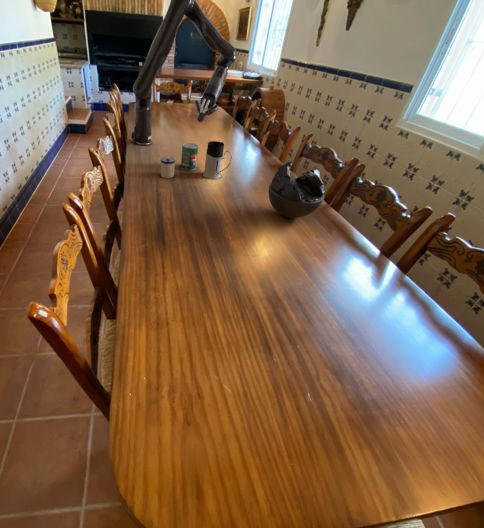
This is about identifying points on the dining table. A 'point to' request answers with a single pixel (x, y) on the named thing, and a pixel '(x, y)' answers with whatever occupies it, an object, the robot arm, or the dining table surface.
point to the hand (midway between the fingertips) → (199, 121)
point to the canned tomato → (189, 156)
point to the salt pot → (167, 167)
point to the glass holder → (214, 160)
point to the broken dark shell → (296, 192)
